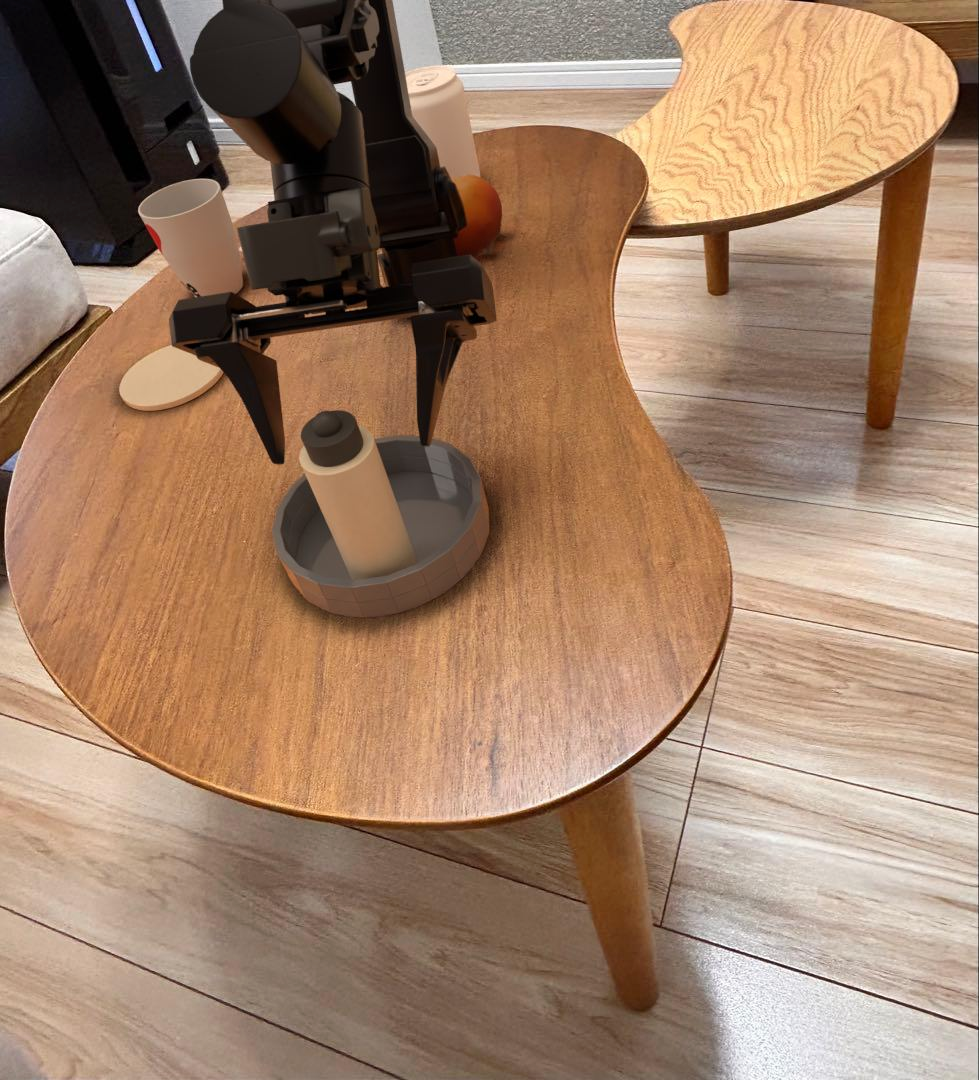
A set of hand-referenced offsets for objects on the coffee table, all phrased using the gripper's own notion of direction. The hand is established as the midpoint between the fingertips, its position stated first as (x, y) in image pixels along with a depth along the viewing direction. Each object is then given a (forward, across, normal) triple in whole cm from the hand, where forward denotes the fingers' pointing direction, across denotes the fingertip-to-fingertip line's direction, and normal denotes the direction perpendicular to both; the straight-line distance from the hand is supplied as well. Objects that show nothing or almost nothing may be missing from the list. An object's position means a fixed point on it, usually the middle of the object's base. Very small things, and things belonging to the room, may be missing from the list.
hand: (351, 455), depth 52 cm
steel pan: (+5, 0, +8) cm, 10 cm away
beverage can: (-33, 0, +46) cm, 56 cm away
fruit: (-23, +4, +36) cm, 43 cm away
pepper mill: (+8, 0, +5) cm, 9 cm away
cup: (-23, -23, +36) cm, 48 cm away
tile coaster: (-12, -24, +25) cm, 36 cm away
